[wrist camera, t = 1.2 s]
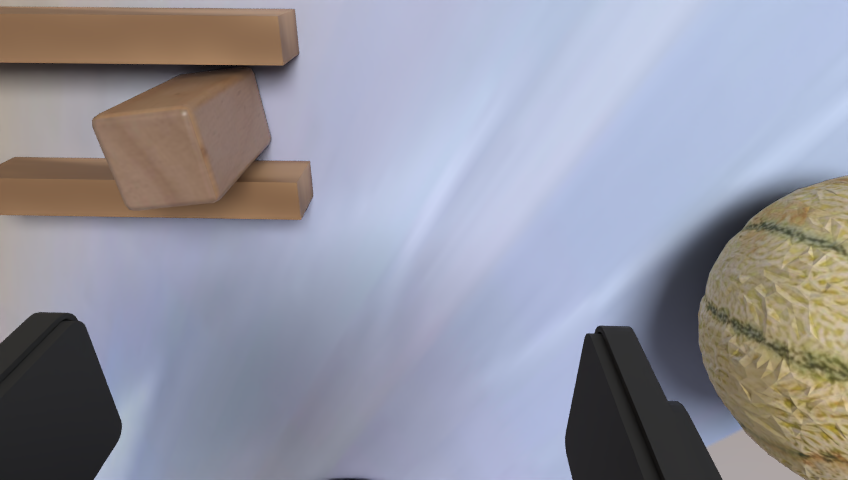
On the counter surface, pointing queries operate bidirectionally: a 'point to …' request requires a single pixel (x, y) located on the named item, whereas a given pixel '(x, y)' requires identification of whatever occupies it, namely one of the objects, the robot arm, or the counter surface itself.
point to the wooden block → (184, 138)
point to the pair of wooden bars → (147, 44)
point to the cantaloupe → (785, 329)
